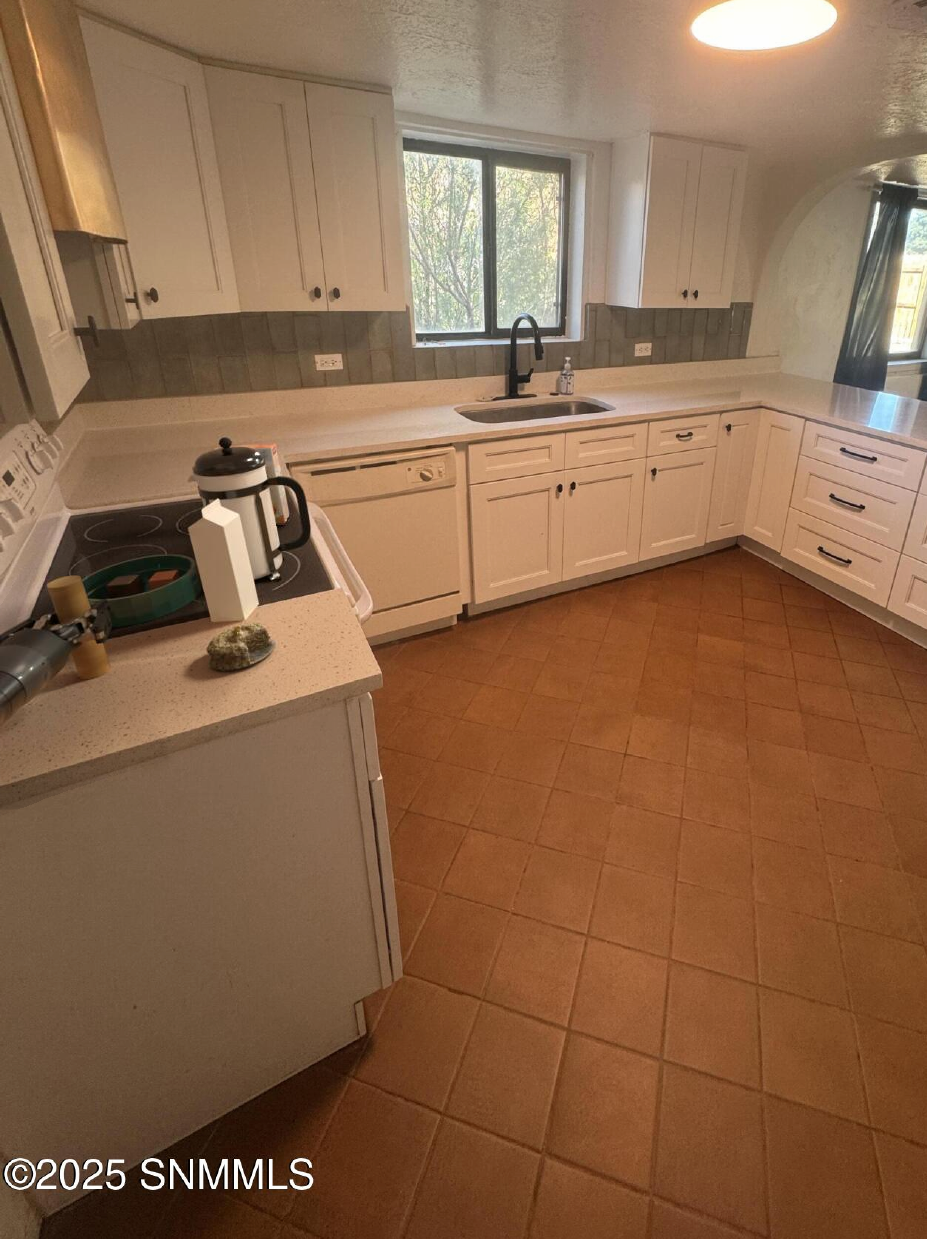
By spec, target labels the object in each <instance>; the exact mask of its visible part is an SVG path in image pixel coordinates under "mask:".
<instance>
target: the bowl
mask: <svg viewBox="0 0 927 1239" xmlns="http://www.w3.org/2000/svg"><path fill="white" fill-rule="evenodd" d="M173 570H178V571H179V575H180V578H179V579H177V580H175V581H173V582H171V583H169V584H167V585H165V586H163V587H160V588H157V589H154V590H150V586H149V583H148V581H149V580H150V579H151V578H152V576H153V575H154V574H155V573H156V572H164V571H173ZM129 575H140V578H141V582H142V585H143V589H144V593H141V594H137V595H133V596H128V597H122V598H115V599H110V596H109V593H108V590H107V587H106V586H107V585H108V584H109V583H110V582H111V581H113V580H114V579H115V578H116V577H117V576H129ZM81 579H82V582H83V585H84V588H85V591H86V594H87V597H88V600H89V603H90V606H91V608H92V607H93V606H94V605H95V604H96V603H97V602H98V601H100V600H103V599H106V600H107V602H109V604H110V607H111V612H110V613H109V616H110V619H111V622H112V627H111V628H121V627H128V626H134V625H139V624H142V623H143V624H144V623H147V622H150V621H153V620H157V619H160V618H161V617H164V616H167V615H169V614H170V615H171V614H172V613H174V612H176V611H178V610H180V609H182V608H184V607H186V606H187V605H189V604H190V603H191V602H193V601H194V600H196V599H197V597H198V596H199V595H200V593H201V592H202V582H201V578H200V574H199V570H198V566H197V562H196V560H194V559H193V558H192V557H189V556H188V555H184V554H173V553H171V554H154V555H147V556H142V557H137V558H132V559H128V560H125V561H120V562H117V563H114V564H111V565H108V566H106V567H104V568H101V569H99V570H95V571H94V572H92V573H91V574H89V575H86V576H85V577H83V578H81Z"/></svg>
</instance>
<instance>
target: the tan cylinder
mask: <svg viewBox="0 0 927 1239" xmlns="http://www.w3.org/2000/svg"><path fill="white" fill-rule="evenodd" d="M82 579H83V578H82V577H81V576H80V575H67V576H61V577H59V578H56V579H54V580H51V581H49V582H48V583H47V584H46V588H47V591H48V594H49V597H50V600H51V602H52V605H53V608H54V610H55V611H56V614H57V616H58V619H59V622H60V624H62V623H64V622H65V621H67V620H69V619H70V618H72V617H74V616H81V615H83V614H85V613H86V612H88V611H89V610H90V609H91V606H90V603H89V600H88V597H87V594H86V591H85V588H84V585H83V582H82ZM89 624H91V623H90V620H89V619H88V620H87V625H89ZM74 625H75V624H74ZM70 655H71V658H72V661H73V664H74V666H75V670H76V672H77V675H78V678H79V677H80V678H79V679H81V680H92V679H95V678H98V677H100V676H102V675H104V674H106V673H108V671H110V669H111V664H110V660H109V658H108V654H107V652H106V649H105V645H104V643H101V644H97V643H96V641H95V640H91V641H86V642H83V644H82V645H81V646H80V647H78V648H76V649H74V650H73V651H71V653H70Z"/></svg>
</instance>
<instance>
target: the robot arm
mask: <svg viewBox="0 0 927 1239" xmlns="http://www.w3.org/2000/svg"><path fill="white" fill-rule="evenodd" d="M110 612H111V607H110V604H109V602H107V600H106V599H103V600H100V601H98V602H97V603H96V604H95V605H94V606H93V607H92V608H91V609H90V610H89V611H88V612H86V613H85V614H83V615H81V616H74V617H72V618H70V619H69V620H67V621H65V622H64V623H62V624H60V622H59V619H58V616H57V614H56V611H55V609H54V610H53V611H52V612H51V613H48V614H44V615H42V616H41V617H40V619H36V618H35V617H29V618H27V619H25V620H23V621H22V622H20V623H18V624H17V625H14V626H12V627H11V628H9V629H8V630H5V631H4V632H2V633H0V729H1V728H2V727H3V726H5V724H6V723H7V722H8V721H9V720H10V719H11V718H12V717H13V716H14V715H15V714H16V713H17V712H18V711H19V710H20V709H21V708H23V706H25V705H26V704H28V703H29V702H30V701H31V700H33V699H34V698H35V697H36V696H37V695H39V693H40V692H41V691H42V690H43V689H44V688H45V687H46V686H47V685H48V684H49V683H50V682H51V681H52V680H53V679H54V678H55V677H56V676H57V675H58V674H59V673H60V671H61V670H63V669H64V667H66V665H67V663H68V661H69V658H70V655H71V651H73V650H74V649H76V648H78V647H80V646H81V645H82V644H83V642H86V641H91V640H95V641H96V643H97V644H101V643H103V644H104V643H105V642H107V640H108V637H109V635H110V632H111V630H112V628H113V627H112V622H111V619H110V616H109V613H110ZM88 619H89V620H90V623H91V624H89V625H87V620H88ZM74 624H75V625H74Z"/></svg>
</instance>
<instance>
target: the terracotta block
mask: <svg viewBox="0 0 927 1239" xmlns="http://www.w3.org/2000/svg"><path fill="white" fill-rule="evenodd" d="M179 578H180V575H179V571H178V570H173V571H164V572H156V573H155V574H154V575H153V576H152V578H151V579H150V580H149V581H148V583H149V586H150V590H154V589H157V588H160V587H163V586H165V585H167V584H169V583H171V582H173V581H175V580H177V579H179Z"/></svg>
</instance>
